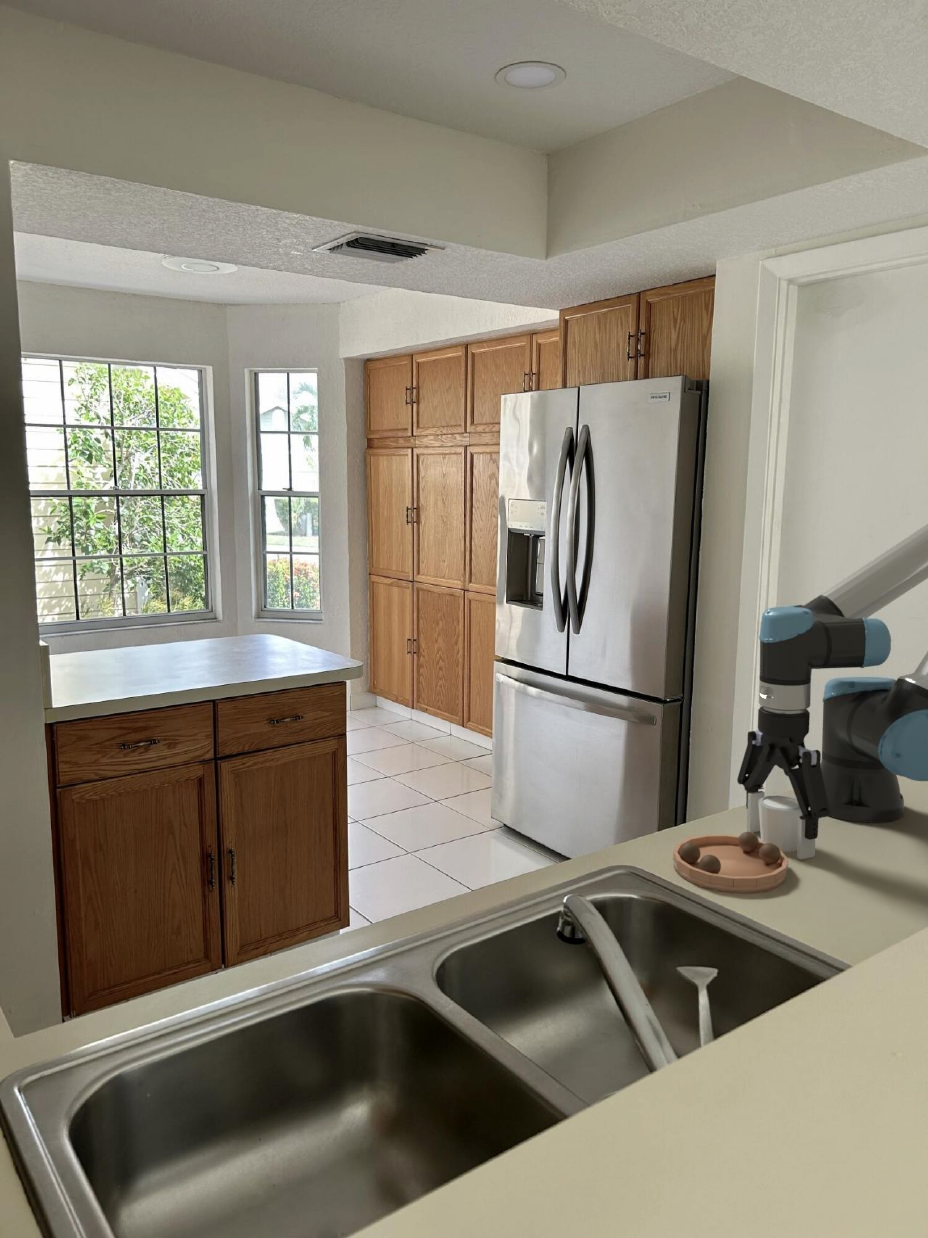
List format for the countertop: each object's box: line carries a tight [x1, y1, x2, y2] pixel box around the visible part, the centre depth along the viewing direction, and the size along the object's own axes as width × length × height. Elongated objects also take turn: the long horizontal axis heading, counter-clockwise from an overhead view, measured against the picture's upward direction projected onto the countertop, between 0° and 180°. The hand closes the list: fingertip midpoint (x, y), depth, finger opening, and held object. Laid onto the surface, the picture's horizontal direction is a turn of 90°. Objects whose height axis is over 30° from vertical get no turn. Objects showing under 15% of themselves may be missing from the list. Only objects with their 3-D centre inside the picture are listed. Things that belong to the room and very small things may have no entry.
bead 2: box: [699, 855, 721, 874], centre depth 130 cm, size 3×3×3 cm
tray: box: [672, 834, 789, 894], centre depth 135 cm, size 16×16×2 cm
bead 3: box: [738, 831, 760, 852], centre depth 139 cm, size 3×3×3 cm
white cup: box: [758, 795, 802, 853], centre depth 143 cm, size 7×7×7 cm
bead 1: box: [680, 843, 700, 864], centre depth 135 cm, size 3×3×3 cm
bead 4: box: [759, 843, 781, 864], centre depth 134 cm, size 3×3×3 cm
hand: (779, 843), depth 144 cm, fingers open, 11 cm apart
